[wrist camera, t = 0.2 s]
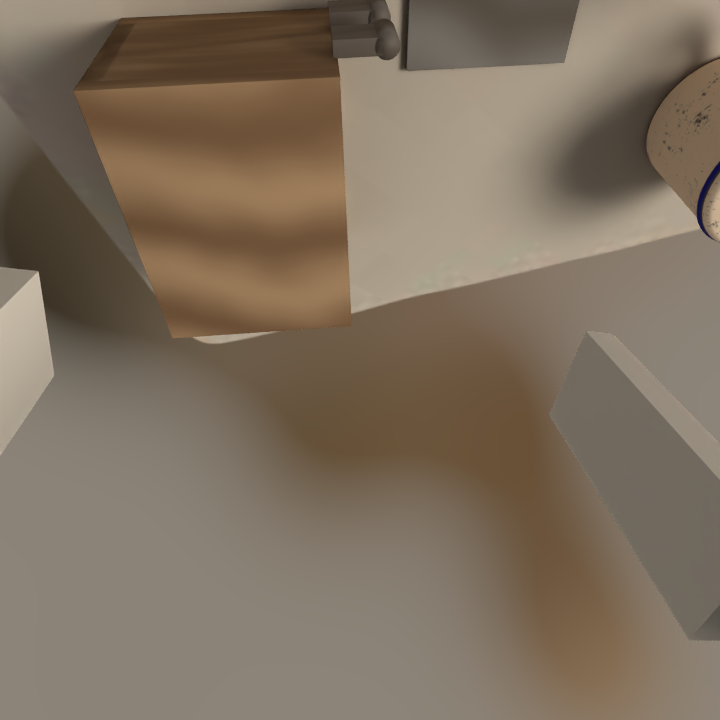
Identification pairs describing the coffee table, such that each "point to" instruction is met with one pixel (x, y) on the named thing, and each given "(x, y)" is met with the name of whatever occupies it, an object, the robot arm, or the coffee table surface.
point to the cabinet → (266, 143)
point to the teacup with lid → (691, 144)
